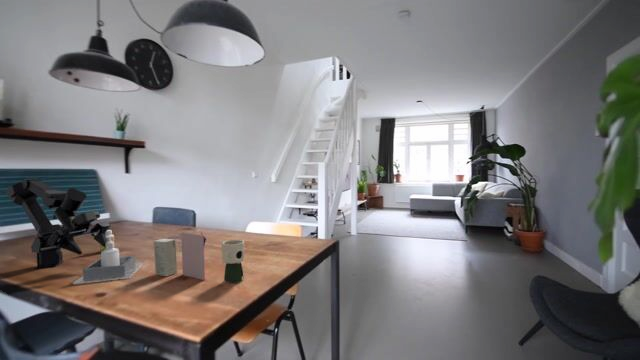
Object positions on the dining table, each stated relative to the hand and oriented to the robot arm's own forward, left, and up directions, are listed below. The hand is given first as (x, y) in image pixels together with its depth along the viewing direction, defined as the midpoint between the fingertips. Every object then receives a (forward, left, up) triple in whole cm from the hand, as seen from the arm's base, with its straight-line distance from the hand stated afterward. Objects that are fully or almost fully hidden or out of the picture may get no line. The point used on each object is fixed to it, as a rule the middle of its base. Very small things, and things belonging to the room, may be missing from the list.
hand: (94, 250), depth 105 cm
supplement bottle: (-7, +31, -8) cm, 33 cm away
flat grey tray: (+6, -4, -8) cm, 11 cm away
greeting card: (+35, -17, -8) cm, 40 cm away
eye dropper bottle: (+6, -4, -8) cm, 11 cm away
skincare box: (+25, -11, -8) cm, 29 cm away
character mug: (+48, -26, -8) cm, 56 cm away
